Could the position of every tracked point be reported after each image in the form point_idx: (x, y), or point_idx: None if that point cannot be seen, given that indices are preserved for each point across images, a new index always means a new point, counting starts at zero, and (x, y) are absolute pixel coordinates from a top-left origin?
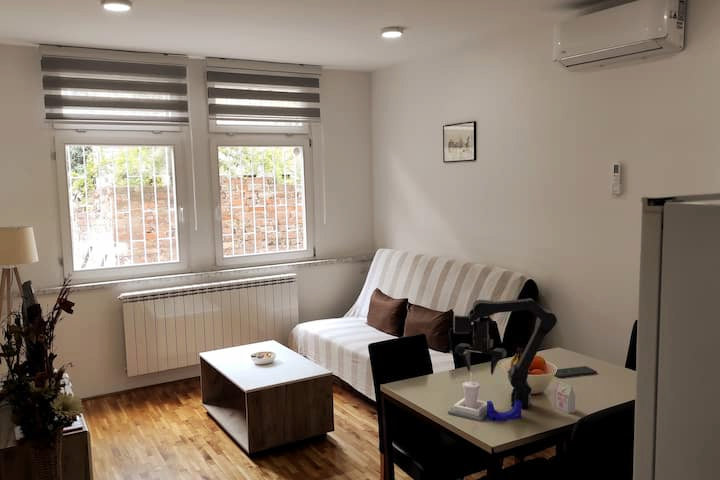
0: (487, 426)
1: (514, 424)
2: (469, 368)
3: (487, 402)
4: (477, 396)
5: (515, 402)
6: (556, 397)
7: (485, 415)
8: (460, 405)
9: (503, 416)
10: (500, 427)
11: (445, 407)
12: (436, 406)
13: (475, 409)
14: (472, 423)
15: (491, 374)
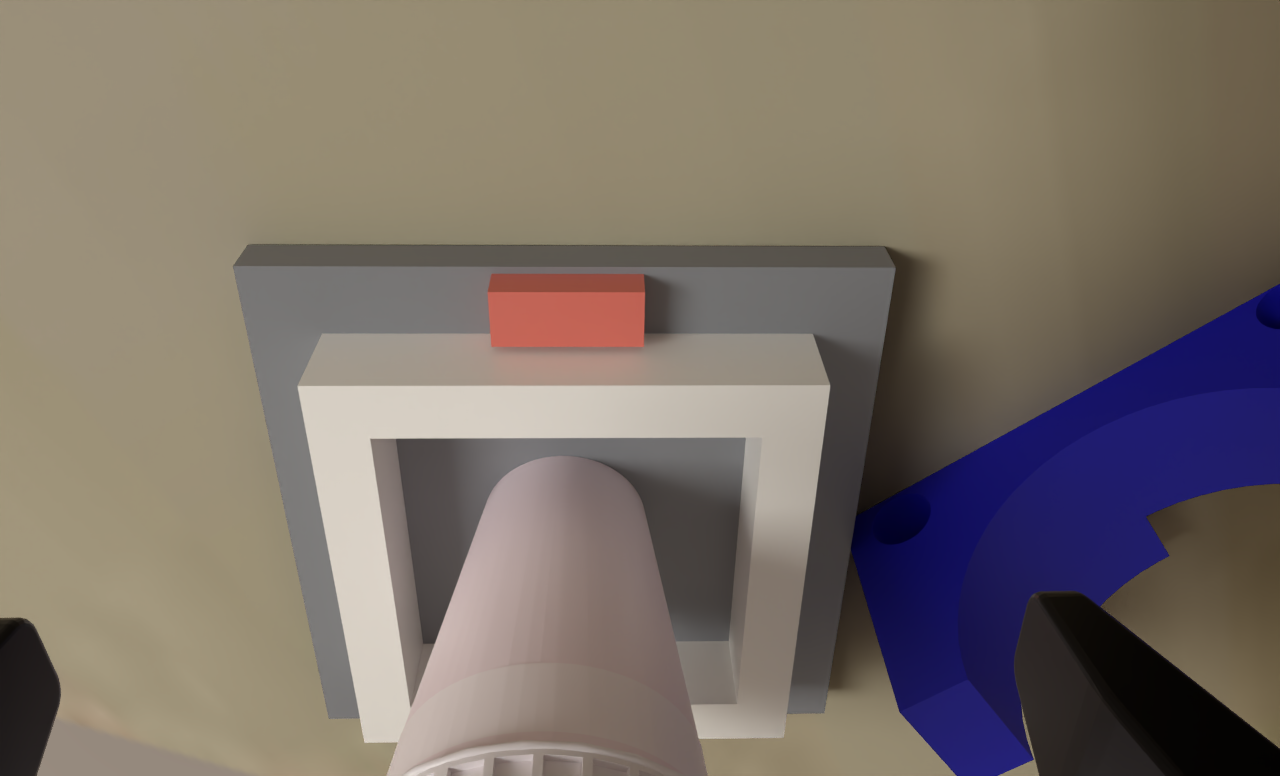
0: (931, 748)
1: (1264, 569)
2: (1, 771)
3: (910, 717)
4: (685, 685)
5: None
6: None
7: (841, 581)
8: (406, 603)
9: (1124, 563)
10: None
11: (160, 541)
12: (30, 571)
13: (718, 714)
14: (740, 760)
15: (1030, 681)
